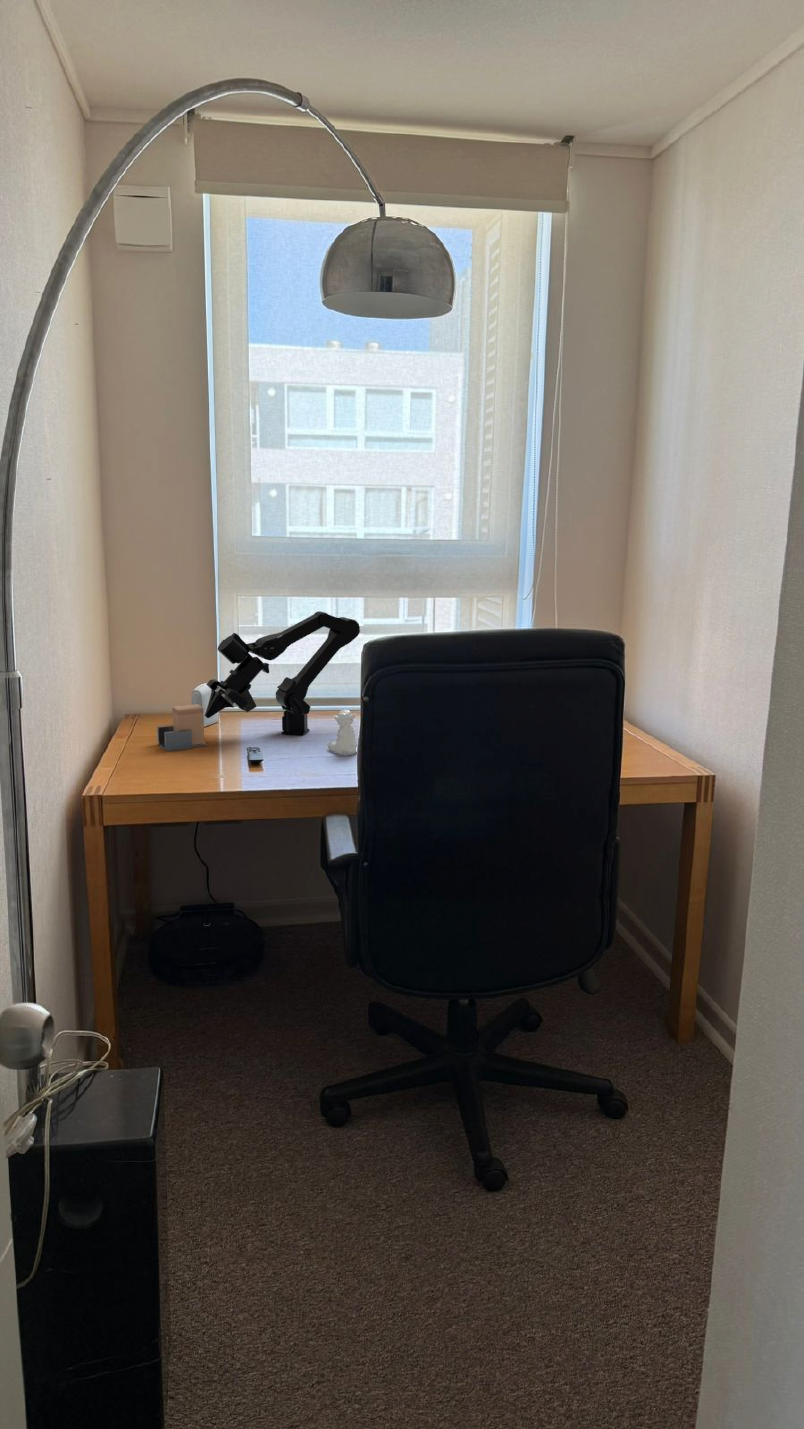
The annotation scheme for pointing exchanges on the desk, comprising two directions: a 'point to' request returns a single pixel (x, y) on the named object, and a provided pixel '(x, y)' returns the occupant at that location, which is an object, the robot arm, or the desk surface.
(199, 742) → the block
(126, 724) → the desk surface
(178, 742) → the chute
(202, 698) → the photo printer
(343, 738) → the white creature statuette
